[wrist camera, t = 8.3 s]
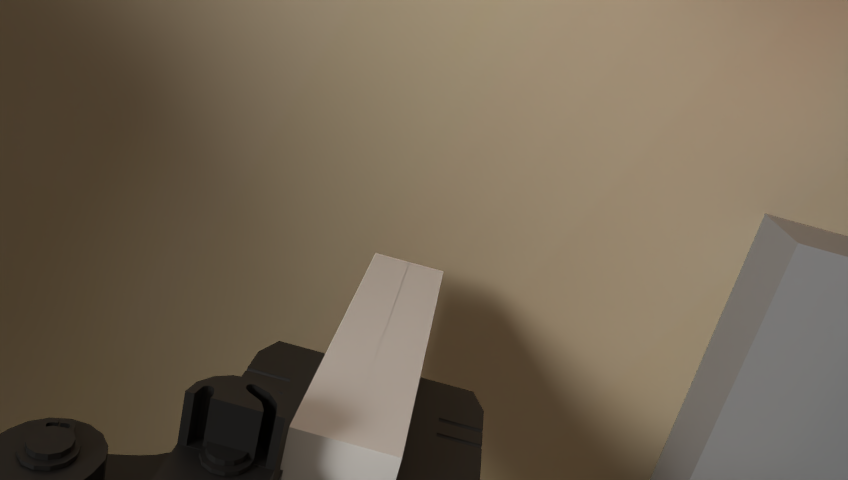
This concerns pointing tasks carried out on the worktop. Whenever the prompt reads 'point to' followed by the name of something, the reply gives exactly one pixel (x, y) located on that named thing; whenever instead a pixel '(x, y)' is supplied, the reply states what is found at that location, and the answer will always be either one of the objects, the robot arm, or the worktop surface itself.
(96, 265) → the worktop surface
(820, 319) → the slate tile
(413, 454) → the robot arm
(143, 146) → the worktop surface
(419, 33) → the worktop surface
